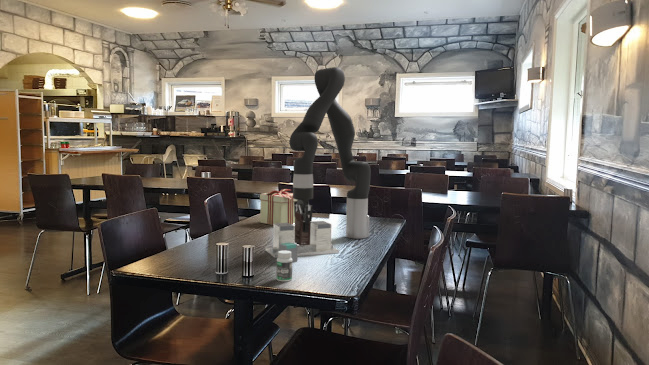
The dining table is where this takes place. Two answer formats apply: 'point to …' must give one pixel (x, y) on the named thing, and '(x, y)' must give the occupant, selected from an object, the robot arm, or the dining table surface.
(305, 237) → the box
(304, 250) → the rail panel
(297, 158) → the robot arm
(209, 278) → the dining table surface
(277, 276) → the pill bottle
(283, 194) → the gift box
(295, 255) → the block
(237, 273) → the dining table surface
